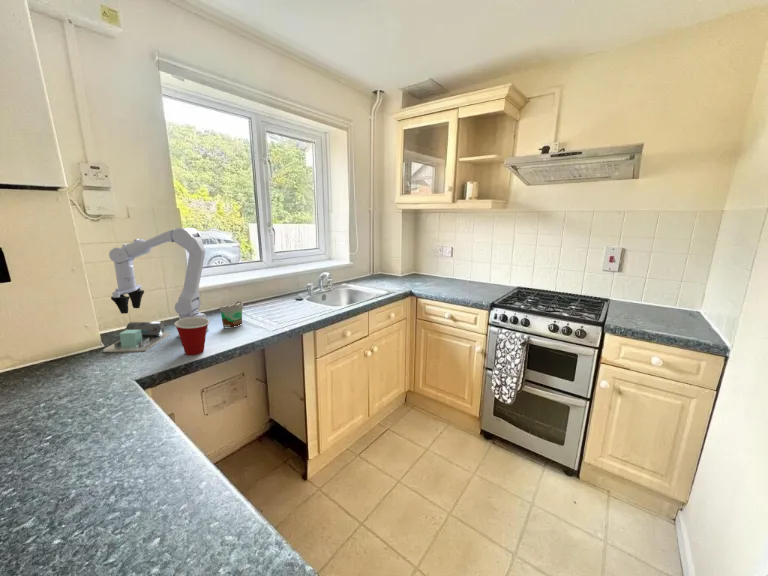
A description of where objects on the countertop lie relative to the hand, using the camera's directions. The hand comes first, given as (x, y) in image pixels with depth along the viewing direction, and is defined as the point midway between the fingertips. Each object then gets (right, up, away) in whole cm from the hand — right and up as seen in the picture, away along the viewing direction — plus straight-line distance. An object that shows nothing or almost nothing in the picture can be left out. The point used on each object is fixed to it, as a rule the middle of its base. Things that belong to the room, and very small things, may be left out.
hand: (130, 310), depth 129 cm
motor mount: (+8, -12, -6) cm, 16 cm away
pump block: (+8, -12, -10) cm, 17 cm away
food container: (+35, -8, +17) cm, 40 cm away
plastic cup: (+34, -15, -13) cm, 39 cm away
